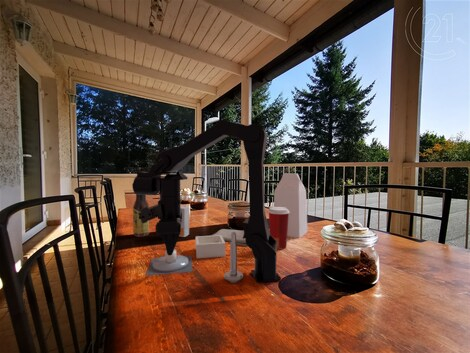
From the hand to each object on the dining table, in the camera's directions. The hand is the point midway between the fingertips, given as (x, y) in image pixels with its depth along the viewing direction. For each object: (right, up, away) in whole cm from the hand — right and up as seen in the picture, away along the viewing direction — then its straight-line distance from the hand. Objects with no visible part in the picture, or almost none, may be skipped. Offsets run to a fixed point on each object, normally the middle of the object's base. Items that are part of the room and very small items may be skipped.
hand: (171, 249), depth 71 cm
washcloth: (+18, -5, +27) cm, 33 cm away
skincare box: (-4, -4, +33) cm, 34 cm away
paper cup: (+34, -5, +18) cm, 39 cm away
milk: (+43, -4, +37) cm, 57 cm away
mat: (0, -5, 0) cm, 5 cm away
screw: (+18, -6, -9) cm, 21 cm away
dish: (+10, -5, +10) cm, 15 cm away
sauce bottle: (-21, -4, +33) cm, 39 cm away
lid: (0, -5, 0) cm, 5 cm away
